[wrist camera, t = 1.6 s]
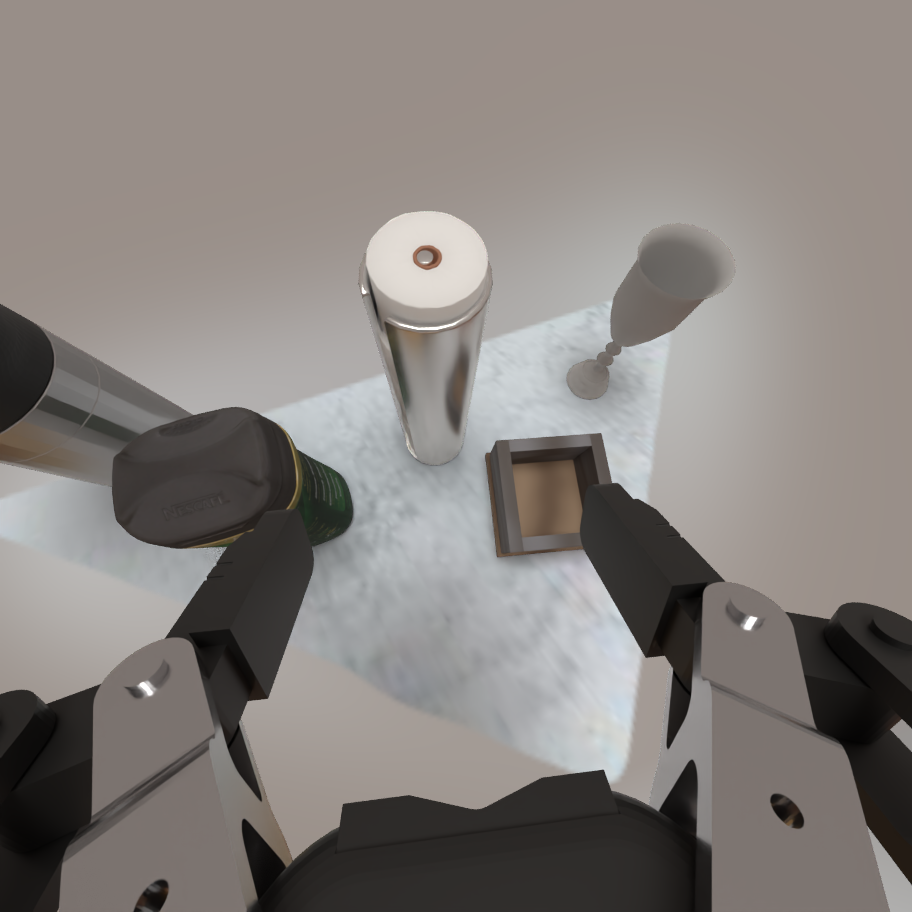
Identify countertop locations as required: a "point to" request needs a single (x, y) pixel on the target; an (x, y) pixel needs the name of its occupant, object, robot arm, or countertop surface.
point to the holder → (542, 491)
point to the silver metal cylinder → (428, 323)
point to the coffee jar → (222, 482)
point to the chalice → (658, 295)
